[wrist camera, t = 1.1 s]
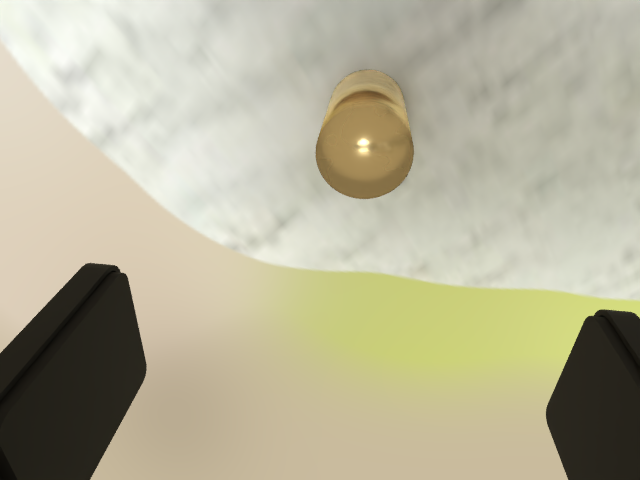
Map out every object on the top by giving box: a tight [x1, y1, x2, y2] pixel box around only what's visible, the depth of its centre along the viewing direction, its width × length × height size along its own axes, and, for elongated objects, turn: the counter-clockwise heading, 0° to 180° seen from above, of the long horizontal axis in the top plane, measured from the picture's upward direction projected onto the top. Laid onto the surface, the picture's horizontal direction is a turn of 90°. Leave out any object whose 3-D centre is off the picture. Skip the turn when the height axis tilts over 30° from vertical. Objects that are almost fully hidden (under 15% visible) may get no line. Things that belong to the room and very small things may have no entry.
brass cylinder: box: [316, 70, 414, 199], centre depth 22 cm, size 4×4×7 cm
